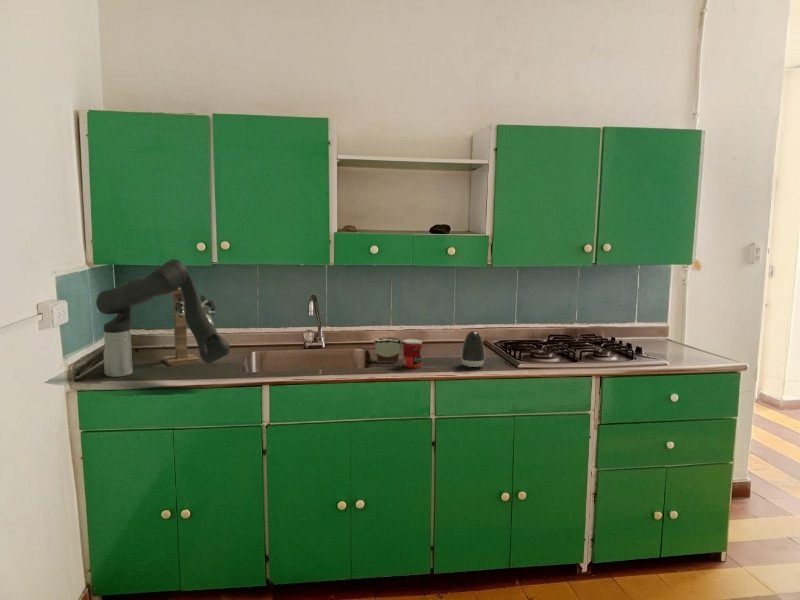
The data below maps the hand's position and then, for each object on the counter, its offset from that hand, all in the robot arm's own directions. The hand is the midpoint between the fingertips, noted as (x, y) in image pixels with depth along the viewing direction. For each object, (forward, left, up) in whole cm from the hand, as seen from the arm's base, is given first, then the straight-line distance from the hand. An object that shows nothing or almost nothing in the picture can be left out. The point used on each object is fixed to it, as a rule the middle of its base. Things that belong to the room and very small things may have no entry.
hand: (190, 297), depth 228 cm
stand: (-15, +9, -30) cm, 35 cm away
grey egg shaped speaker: (+100, +56, -30) cm, 119 cm away
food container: (+63, +50, -30) cm, 86 cm away
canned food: (+77, +45, -30) cm, 94 cm away
